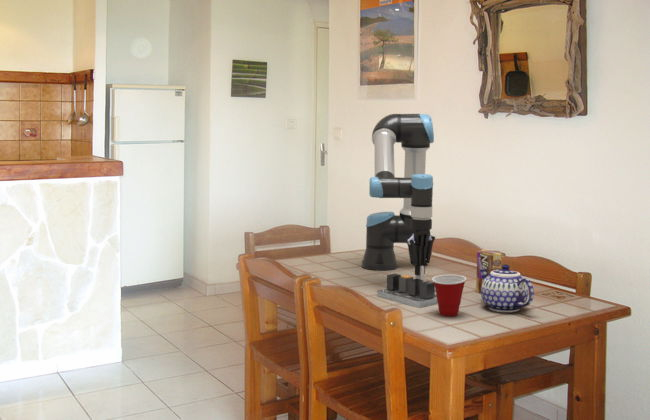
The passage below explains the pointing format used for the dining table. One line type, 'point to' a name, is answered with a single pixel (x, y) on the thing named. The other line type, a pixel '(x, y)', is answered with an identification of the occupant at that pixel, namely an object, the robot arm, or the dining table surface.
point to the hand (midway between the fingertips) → (419, 283)
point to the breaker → (404, 283)
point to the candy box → (486, 264)
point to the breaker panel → (406, 299)
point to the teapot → (505, 290)
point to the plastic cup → (449, 293)
